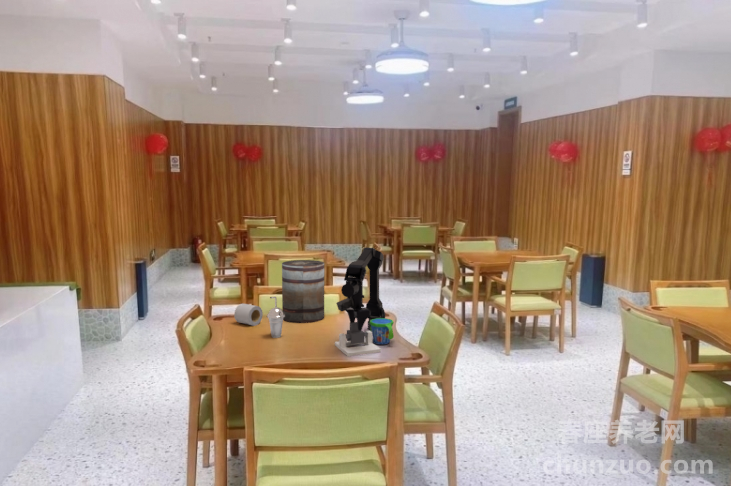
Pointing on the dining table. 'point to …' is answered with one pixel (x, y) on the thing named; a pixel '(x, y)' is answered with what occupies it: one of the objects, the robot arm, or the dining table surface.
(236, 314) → the toilet paper
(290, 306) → the barrel
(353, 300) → the robot arm
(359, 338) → the bracket
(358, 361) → the dining table surface
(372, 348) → the white square base
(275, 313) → the cup with straw
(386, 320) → the snack cup
